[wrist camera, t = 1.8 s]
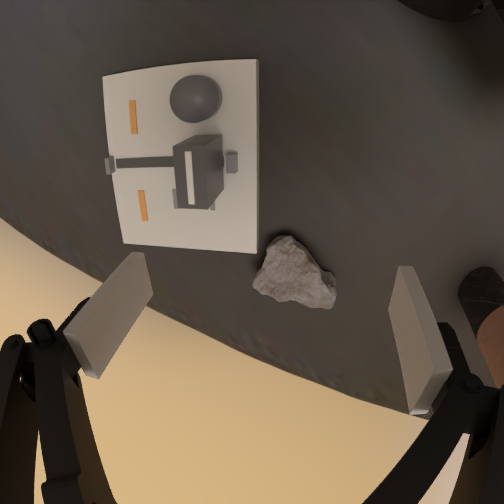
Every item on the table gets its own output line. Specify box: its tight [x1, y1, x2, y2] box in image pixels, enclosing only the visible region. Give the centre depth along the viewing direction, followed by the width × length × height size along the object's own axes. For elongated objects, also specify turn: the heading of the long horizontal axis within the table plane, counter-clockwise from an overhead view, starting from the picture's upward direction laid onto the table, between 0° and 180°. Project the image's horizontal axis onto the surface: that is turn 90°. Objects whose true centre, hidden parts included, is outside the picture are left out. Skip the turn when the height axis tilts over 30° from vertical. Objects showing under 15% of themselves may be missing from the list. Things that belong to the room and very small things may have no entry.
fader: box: [172, 135, 224, 210], centre depth 31 cm, size 6×3×6 cm, turn 0°
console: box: [103, 59, 259, 254], centre depth 34 cm, size 22×18×4 cm
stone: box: [253, 235, 337, 309], centre depth 38 cm, size 8×10×6 cm
